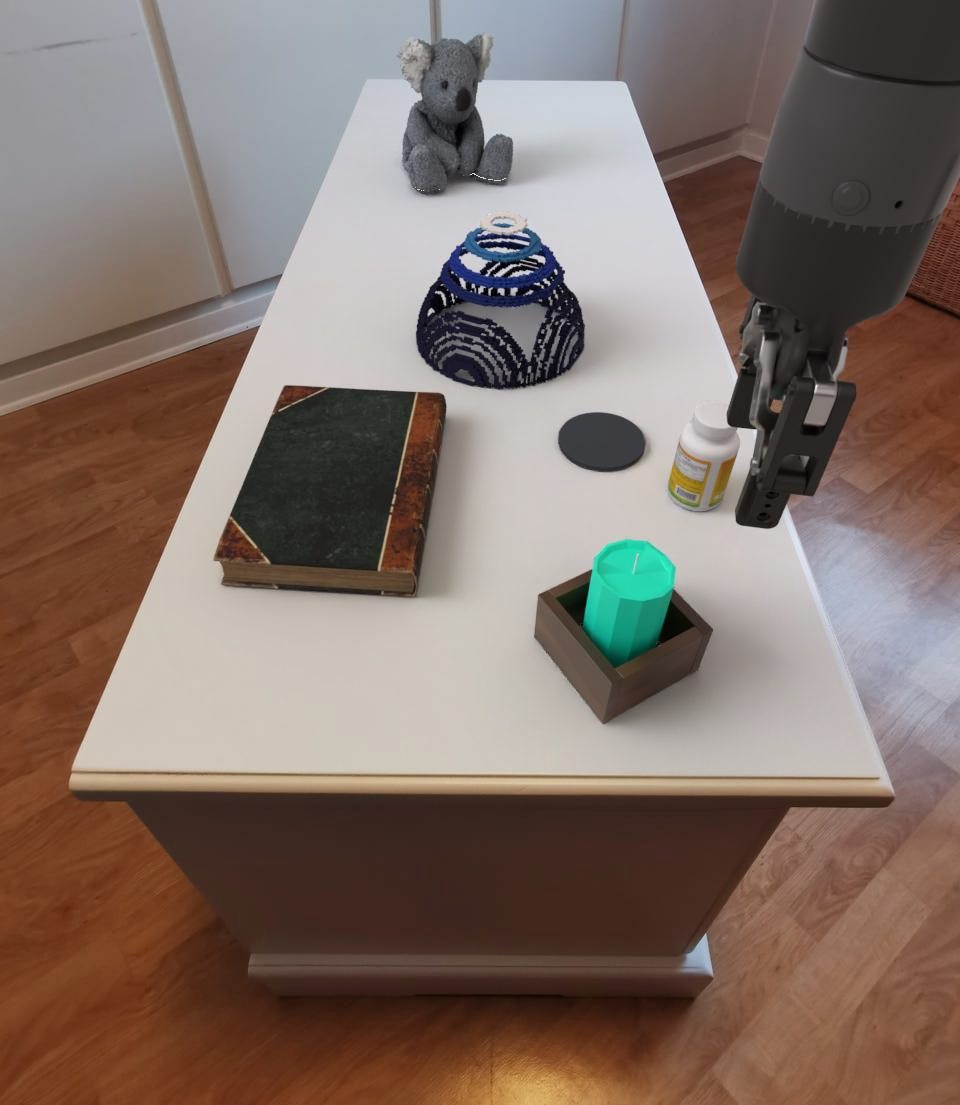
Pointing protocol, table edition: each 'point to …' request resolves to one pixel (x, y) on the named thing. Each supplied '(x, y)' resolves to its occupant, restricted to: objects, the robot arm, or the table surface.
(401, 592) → the book
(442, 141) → the koala plush
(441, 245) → the table surface
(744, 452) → the table surface
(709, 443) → the supplement bottle
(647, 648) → the candle
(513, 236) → the decorative bowl
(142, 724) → the table surface
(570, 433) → the coaster
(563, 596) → the square wooden box
